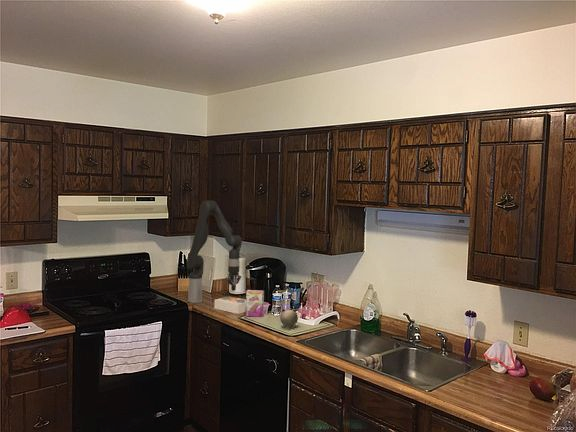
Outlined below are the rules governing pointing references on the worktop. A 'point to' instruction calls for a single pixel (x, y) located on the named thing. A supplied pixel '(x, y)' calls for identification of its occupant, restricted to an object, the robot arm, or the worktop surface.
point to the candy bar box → (254, 303)
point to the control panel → (230, 305)
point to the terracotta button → (233, 299)
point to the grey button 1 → (225, 298)
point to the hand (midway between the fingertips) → (233, 290)
